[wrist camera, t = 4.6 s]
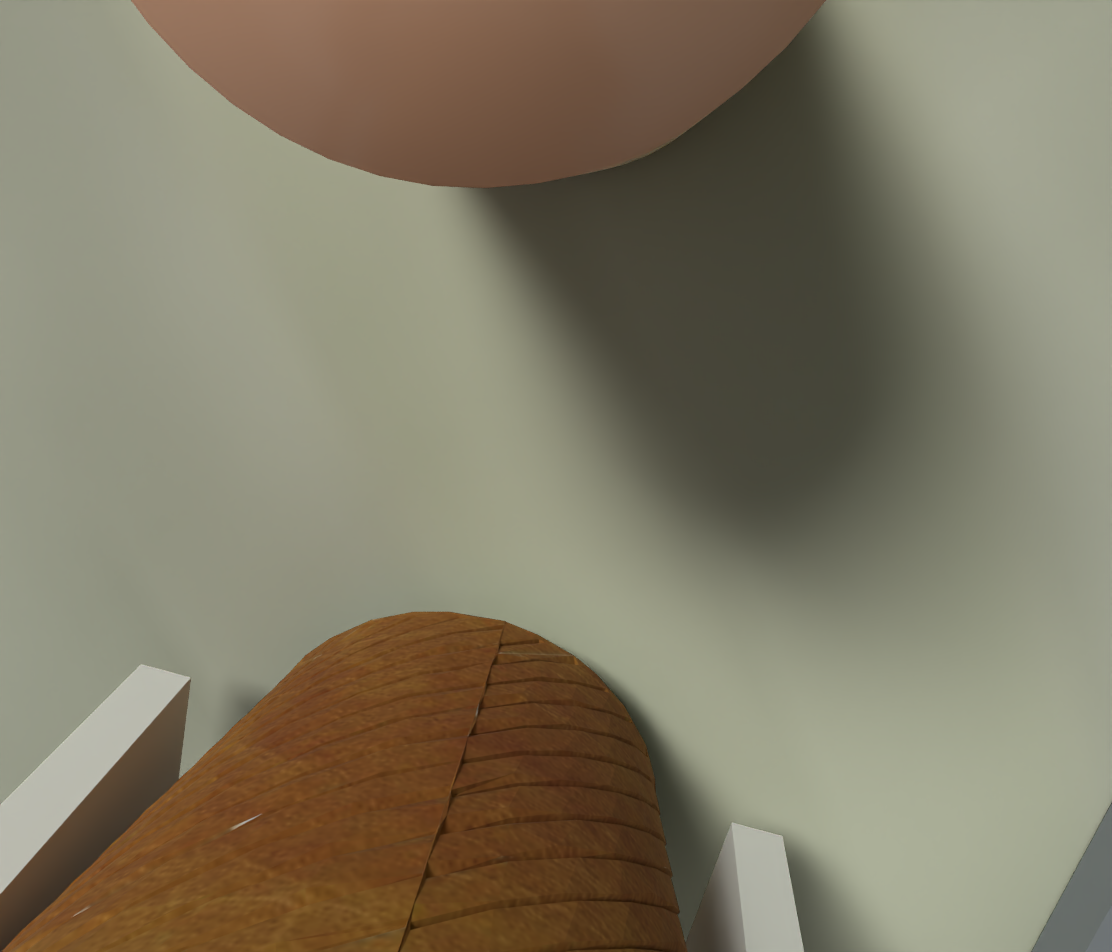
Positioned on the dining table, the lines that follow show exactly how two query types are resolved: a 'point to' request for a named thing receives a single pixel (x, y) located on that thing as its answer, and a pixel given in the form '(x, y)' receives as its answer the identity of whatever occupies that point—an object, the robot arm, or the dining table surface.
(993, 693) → the dining table surface
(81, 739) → the robot arm
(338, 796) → the disposable coffee cup
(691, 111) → the light brown egg
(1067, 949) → the slate board
